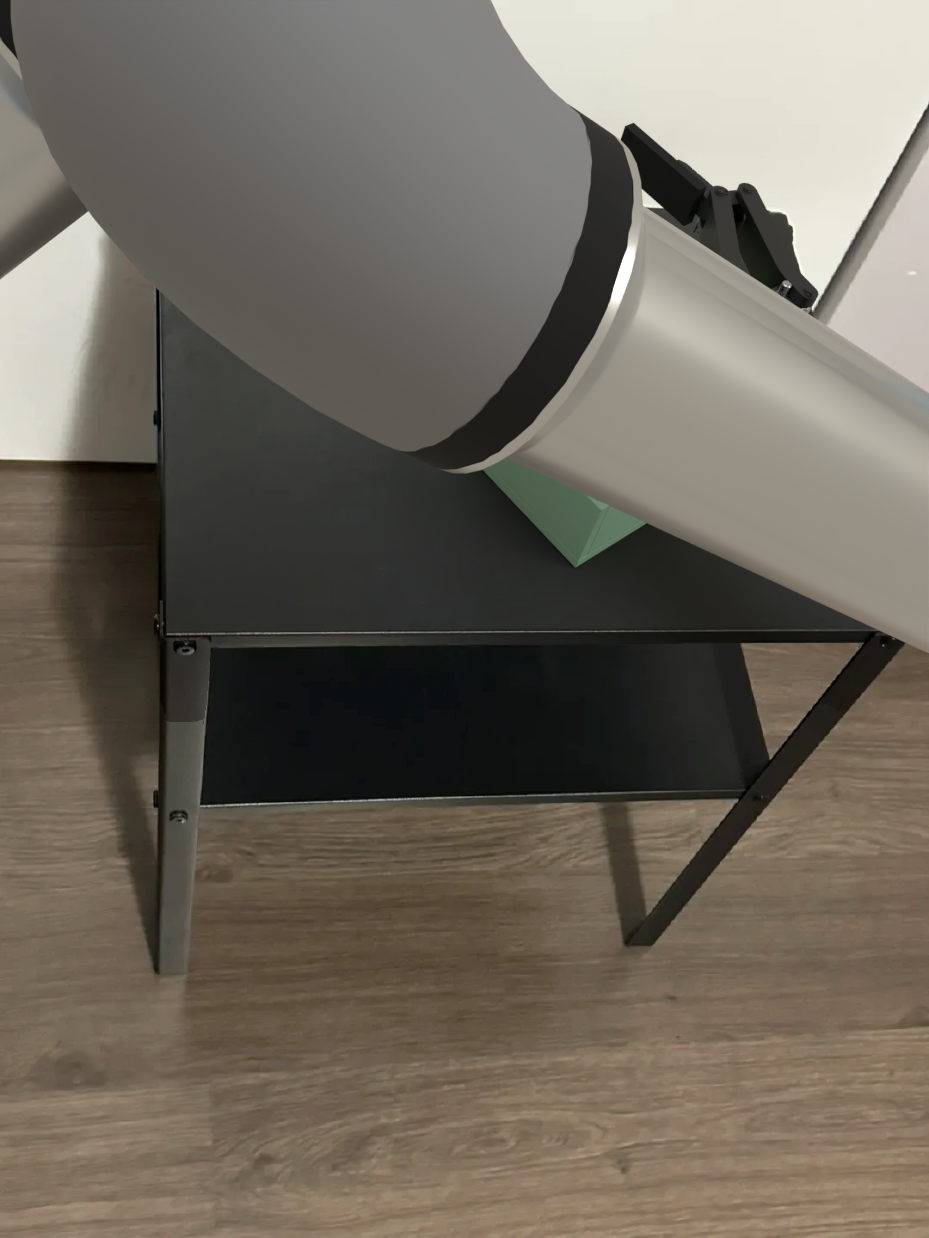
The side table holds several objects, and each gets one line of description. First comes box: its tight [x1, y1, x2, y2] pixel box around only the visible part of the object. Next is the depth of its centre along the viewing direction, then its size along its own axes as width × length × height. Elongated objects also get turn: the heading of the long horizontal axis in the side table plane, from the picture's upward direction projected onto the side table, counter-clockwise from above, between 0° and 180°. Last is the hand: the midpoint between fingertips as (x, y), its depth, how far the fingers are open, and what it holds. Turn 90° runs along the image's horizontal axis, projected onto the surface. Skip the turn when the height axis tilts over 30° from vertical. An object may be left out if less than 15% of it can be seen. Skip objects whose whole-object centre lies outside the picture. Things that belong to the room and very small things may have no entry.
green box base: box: [482, 458, 647, 568], centre depth 83 cm, size 13×10×6 cm
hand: (542, 175), depth 74 cm, fingers open, 13 cm apart
